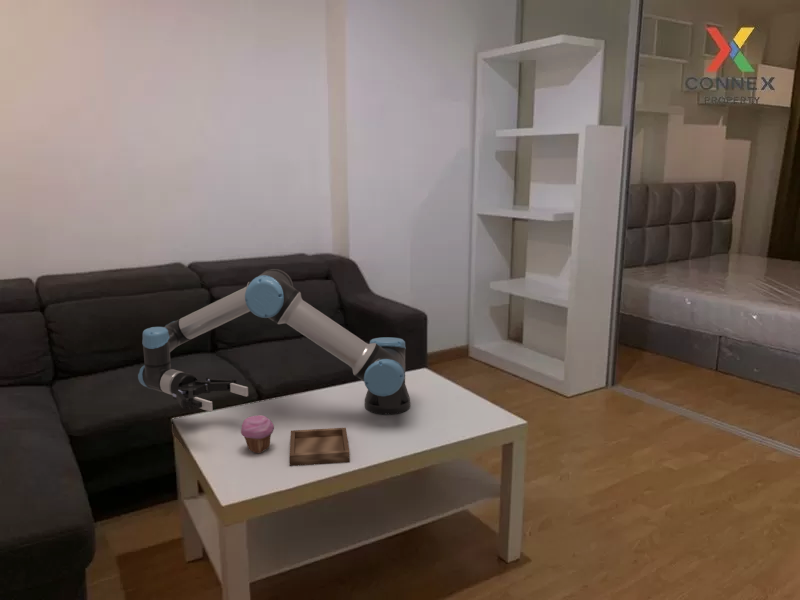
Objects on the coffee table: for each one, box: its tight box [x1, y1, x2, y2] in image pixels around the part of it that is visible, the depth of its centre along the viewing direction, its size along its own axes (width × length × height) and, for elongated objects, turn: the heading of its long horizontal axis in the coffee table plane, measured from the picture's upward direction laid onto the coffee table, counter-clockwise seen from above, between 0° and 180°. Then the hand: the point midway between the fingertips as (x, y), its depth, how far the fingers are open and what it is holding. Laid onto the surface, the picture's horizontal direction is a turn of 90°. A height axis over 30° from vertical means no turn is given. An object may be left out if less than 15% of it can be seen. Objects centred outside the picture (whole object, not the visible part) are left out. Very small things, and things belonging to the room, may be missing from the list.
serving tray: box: [288, 427, 351, 467], centre depth 180 cm, size 16×16×3 cm
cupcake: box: [240, 414, 275, 454], centre depth 180 cm, size 9×9×10 cm
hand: (229, 399), depth 183 cm, fingers open, 13 cm apart
